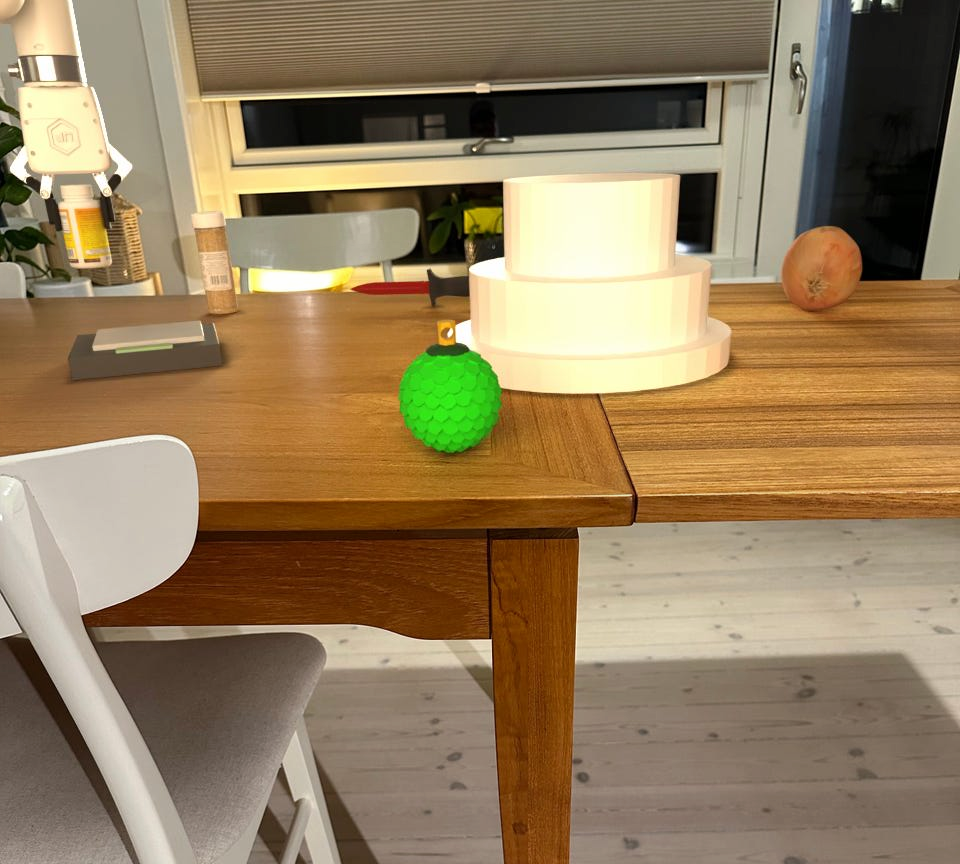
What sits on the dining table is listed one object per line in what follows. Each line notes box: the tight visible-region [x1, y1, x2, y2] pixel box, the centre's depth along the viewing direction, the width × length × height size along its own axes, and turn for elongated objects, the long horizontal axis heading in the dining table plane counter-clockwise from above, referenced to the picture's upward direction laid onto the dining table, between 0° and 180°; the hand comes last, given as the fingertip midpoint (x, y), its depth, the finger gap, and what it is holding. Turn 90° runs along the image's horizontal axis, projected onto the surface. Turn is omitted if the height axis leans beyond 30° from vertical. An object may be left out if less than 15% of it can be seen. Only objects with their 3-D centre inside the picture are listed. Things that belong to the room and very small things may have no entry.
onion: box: [780, 225, 863, 312], centre depth 121 cm, size 10×10×10 cm
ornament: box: [397, 319, 503, 453], centre depth 74 cm, size 8×8×10 cm
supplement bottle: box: [58, 183, 113, 270], centre depth 129 cm, size 6×6×10 cm
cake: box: [447, 172, 732, 395], centre depth 99 cm, size 30×30×18 cm
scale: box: [67, 320, 224, 381], centre depth 111 cm, size 16×14×3 cm
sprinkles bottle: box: [190, 210, 240, 315], centre depth 136 cm, size 5×5×14 cm
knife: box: [349, 268, 470, 307], centre depth 136 cm, size 24×2×5 cm, turn 84°
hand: (84, 228), depth 129 cm, fingers closed on supplement bottle, 5 cm apart
